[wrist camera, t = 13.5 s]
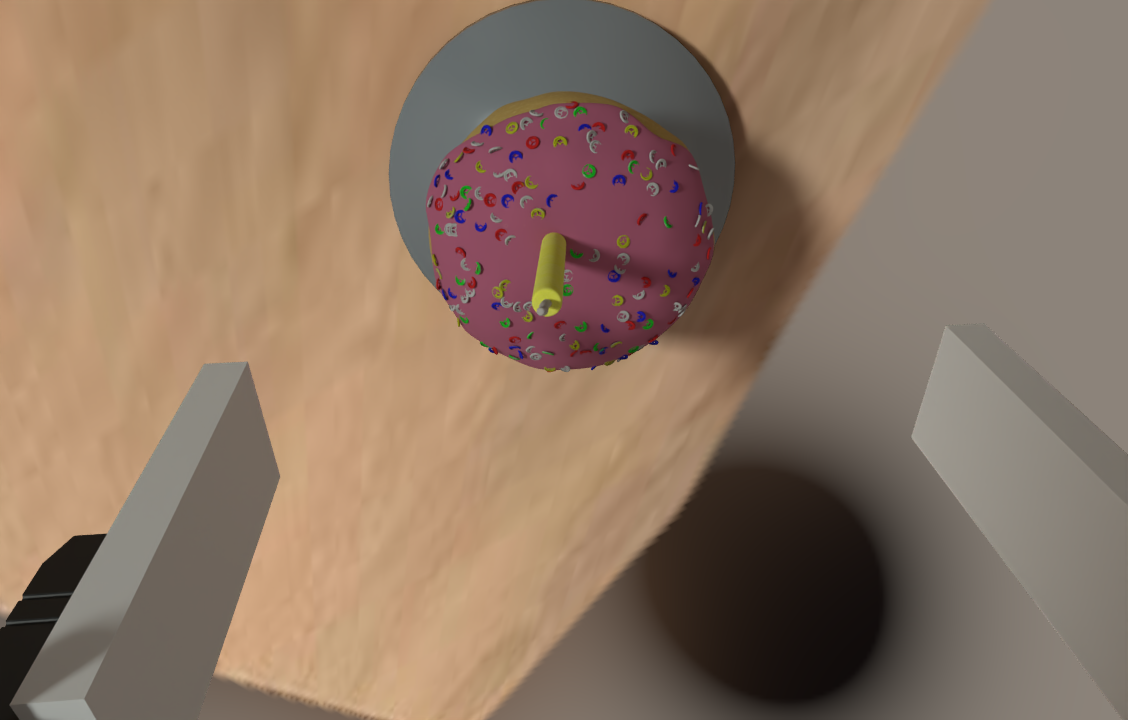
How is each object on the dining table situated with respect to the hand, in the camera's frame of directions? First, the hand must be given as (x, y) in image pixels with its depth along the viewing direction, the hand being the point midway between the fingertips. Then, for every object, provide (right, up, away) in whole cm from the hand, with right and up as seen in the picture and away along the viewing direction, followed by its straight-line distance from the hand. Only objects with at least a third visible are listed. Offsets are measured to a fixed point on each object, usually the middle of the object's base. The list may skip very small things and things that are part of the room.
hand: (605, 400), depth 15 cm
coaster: (-1, +7, +12) cm, 14 cm away
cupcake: (-1, +7, +12) cm, 14 cm away
